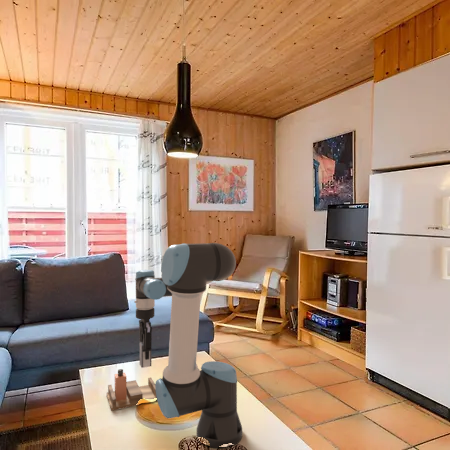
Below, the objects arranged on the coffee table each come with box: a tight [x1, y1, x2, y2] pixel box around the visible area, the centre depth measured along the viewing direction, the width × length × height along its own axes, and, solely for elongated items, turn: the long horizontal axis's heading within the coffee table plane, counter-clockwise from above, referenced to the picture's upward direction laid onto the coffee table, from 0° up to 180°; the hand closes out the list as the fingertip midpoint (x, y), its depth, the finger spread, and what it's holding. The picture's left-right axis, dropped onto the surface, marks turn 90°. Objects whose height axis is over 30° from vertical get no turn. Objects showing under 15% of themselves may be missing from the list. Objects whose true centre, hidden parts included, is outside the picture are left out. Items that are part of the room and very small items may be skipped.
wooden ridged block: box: [106, 377, 157, 411], centre depth 149 cm, size 14×19×4 cm
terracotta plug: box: [114, 368, 127, 401], centre depth 146 cm, size 4×4×11 cm
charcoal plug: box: [139, 341, 152, 369], centre depth 151 cm, size 4×4×11 cm
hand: (145, 364), depth 151 cm, fingers closed on charcoal plug, 4 cm apart
